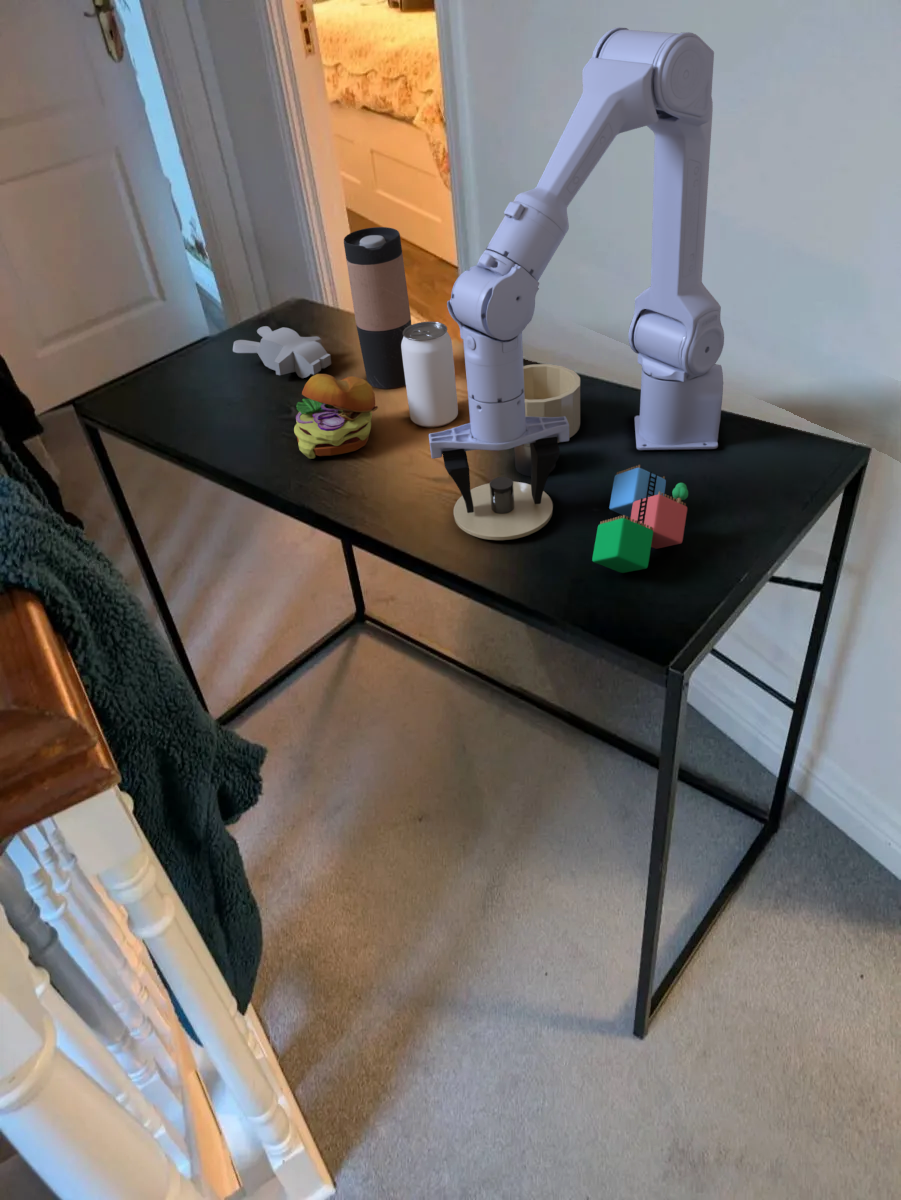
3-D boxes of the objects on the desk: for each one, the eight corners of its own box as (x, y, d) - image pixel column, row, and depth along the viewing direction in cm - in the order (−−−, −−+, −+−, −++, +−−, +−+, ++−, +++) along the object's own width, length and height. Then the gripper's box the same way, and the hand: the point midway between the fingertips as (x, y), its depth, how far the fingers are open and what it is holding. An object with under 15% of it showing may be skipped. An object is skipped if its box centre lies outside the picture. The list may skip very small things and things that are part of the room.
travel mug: (387, 362, 134) (367, 224, 121) (428, 372, 130) (412, 230, 117) (354, 383, 129) (330, 241, 117) (395, 394, 126) (375, 248, 113)
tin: (556, 455, 109) (556, 422, 106) (555, 476, 105) (554, 443, 102) (516, 456, 110) (514, 423, 107) (513, 477, 106) (511, 443, 103)
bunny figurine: (298, 362, 127) (223, 333, 133) (302, 394, 130) (228, 365, 137) (341, 337, 133) (267, 310, 139) (344, 368, 136) (271, 341, 142)
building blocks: (625, 589, 95) (642, 485, 98) (679, 580, 88) (696, 468, 91) (566, 567, 92) (586, 459, 94) (618, 555, 85) (638, 440, 87)
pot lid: (543, 483, 104) (542, 451, 101) (561, 537, 96) (561, 503, 93) (449, 495, 104) (446, 463, 101) (459, 551, 95) (456, 517, 93)
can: (453, 429, 116) (444, 341, 109) (405, 428, 118) (393, 341, 110) (463, 405, 121) (455, 319, 113) (416, 405, 122) (406, 320, 115)
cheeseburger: (276, 448, 116) (274, 371, 111) (339, 433, 123) (340, 360, 118) (327, 470, 110) (327, 390, 106) (390, 453, 117) (393, 377, 113)
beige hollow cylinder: (580, 405, 118) (580, 362, 114) (579, 445, 110) (579, 400, 106) (502, 407, 120) (499, 365, 116) (495, 446, 112) (492, 402, 108)
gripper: (559, 364, 93) (561, 476, 102) (421, 382, 93) (434, 492, 102) (573, 394, 88) (573, 510, 97) (426, 413, 88) (440, 527, 96)
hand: (503, 503), depth 99 cm, fingers open, 7 cm apart
